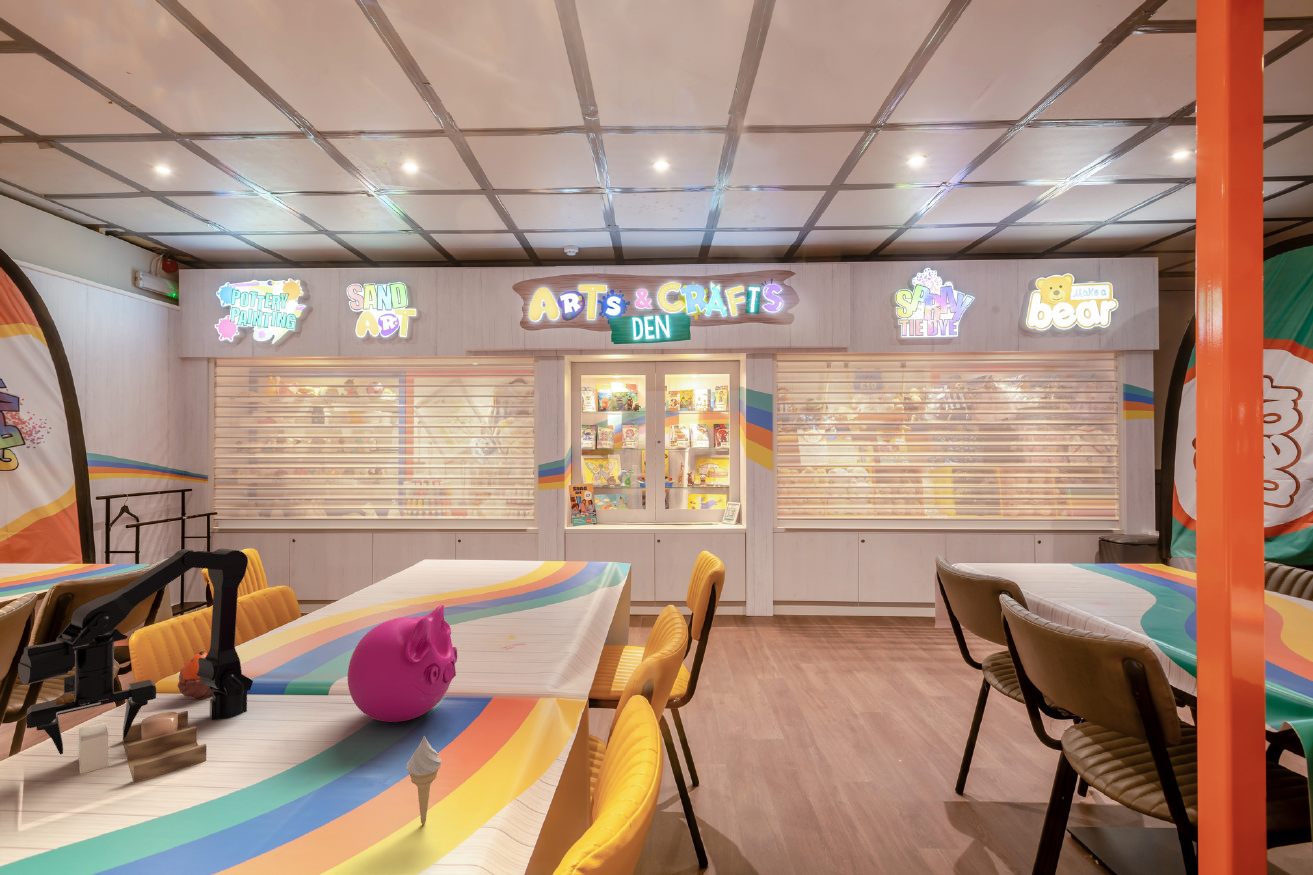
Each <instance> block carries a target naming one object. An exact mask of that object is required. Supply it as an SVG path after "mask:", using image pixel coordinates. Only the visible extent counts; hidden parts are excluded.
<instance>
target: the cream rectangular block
mask: <svg viewBox="0 0 1313 875" xmlns="http://www.w3.org/2000/svg"><path fill="white" fill-rule="evenodd" d="M77 749H78V755H77V756H78V758H77V760H78V767H79V768H78V769H79V774H80V775H82V774H86V773H89V772H93V771H95V770H99V769H103V768H107V767H109V731H108V727H107V723H106V721H105V722H102V723H101V722H100V723H97V724H94V725H93V724H92V725H89V726H84V727H80V728H78V748H77Z"/></svg>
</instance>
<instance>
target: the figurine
mask: <svg viewBox="0 0 1313 875" xmlns="http://www.w3.org/2000/svg"><path fill="white" fill-rule="evenodd" d="M451 635H452V628H451V626H450V624H449V623H448V622H447V621H446V620H445V605H444V604H440V605H439V606H437V607H436V608H435V609H433V610H432V612H430V613H428V614H426V615H421V616H403V617H402V616H401V617H396V618H392V619H389V620H387V621H383V622H382V623H379V624H378V625H376V626H374V627H373V628H371V629H370V630H369V631H367V633H366V634H365V635H364V636H363V637H362V638H361V639H360V640H359V641H358V643H357V644H356V646H355V648H354V650H353V652H352V655H351V657H350V660H349V664H348V668H347V686H348V691H349V694H350V695H349V696H350V697H351V698H352V701H353V703H354V705H355V706H356V708H358V710H360V712H361V713H363V714H365V715H366V716H368V717H369V718H372V719H374V720H377V721H381V722H385V723H400V722H405V721H410V720H413V719H416V718H419V717H420V716H422V715H425V714H426V713H428V712H429V711H431V710H432V709H433V708H434V707H436V706H437V704H438V703H440V702H441V700H443V697H444V696H445V694H447V691H448V690H449V687H450V685H451V682H452V680H453V679H454V678H455V677H456V676H457V672H456V663H457V661H458V649H457V646H453V641H452V637H451Z"/></svg>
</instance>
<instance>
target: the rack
mask: <svg viewBox="0 0 1313 875" xmlns="http://www.w3.org/2000/svg"><path fill="white" fill-rule="evenodd" d="M177 713H178V731H176V732H172V733H169V734H165V735H161V736H158V737H154V738H150V739H146V740H143V741H141V722H142V721H140V722H137V723H132V725H131V727H130V729H129V731H128V734H127V736H126V737H125V738H123V737H122V744H123V747H124V750H125V755H126V757H127V761H128V766H129V768H130V772H131V777H132V781H133V783H134V784H135V783H138V782H141V781H145V780H147V779H151V778H154V777H157V776H161V775H163V774H167V773H171V772H173V771H178V770H181V769H184V768H186V767H190V766H193V765H197V764H200V763H203V762H207V744H206V743H203V744H200V745H199V743H198V742H197V733H198V732H197V730H198V729H197V728H198V727H197V726H196V725H195V726H191V727H189V711H188V710H185V711H180V712H177Z"/></svg>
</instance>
